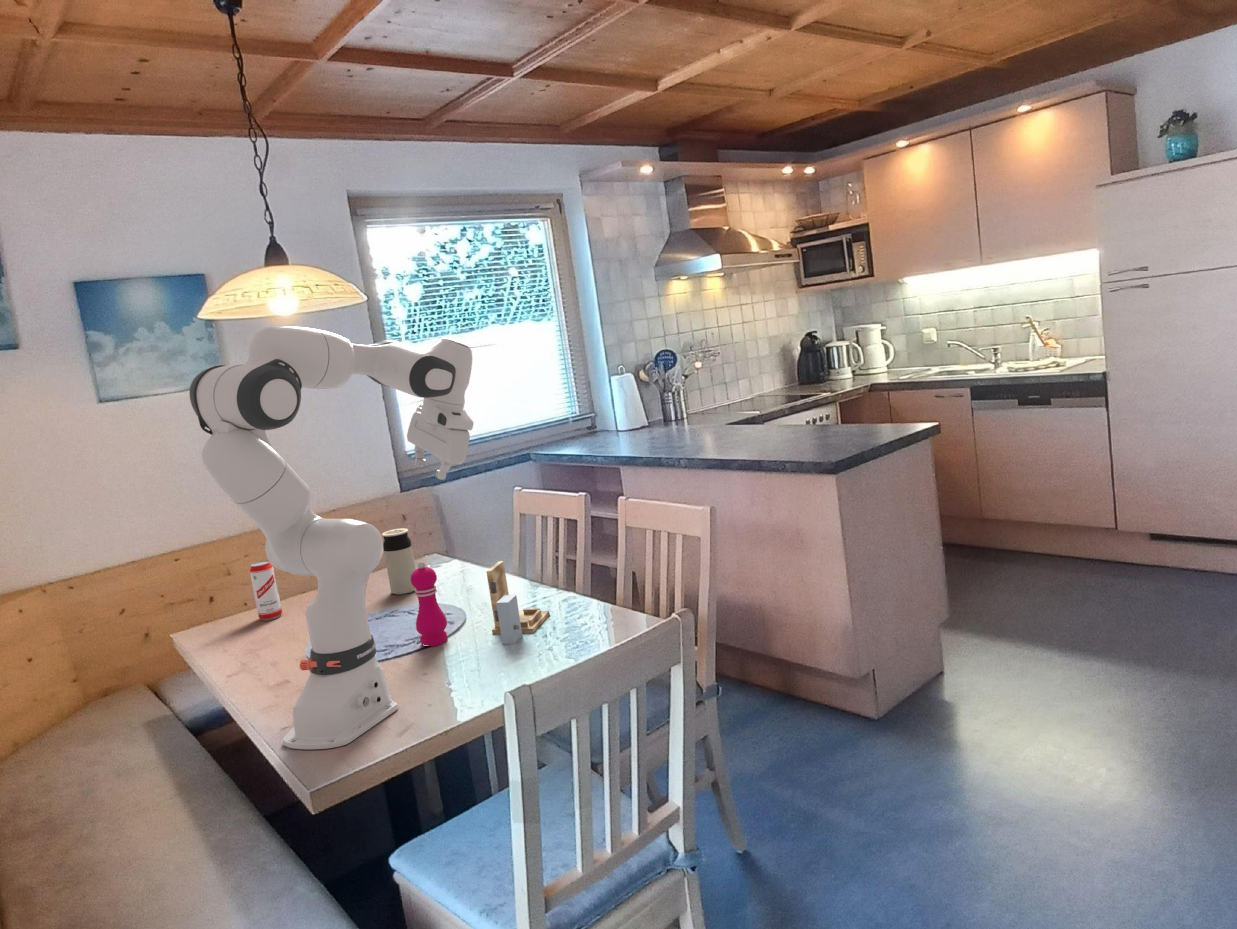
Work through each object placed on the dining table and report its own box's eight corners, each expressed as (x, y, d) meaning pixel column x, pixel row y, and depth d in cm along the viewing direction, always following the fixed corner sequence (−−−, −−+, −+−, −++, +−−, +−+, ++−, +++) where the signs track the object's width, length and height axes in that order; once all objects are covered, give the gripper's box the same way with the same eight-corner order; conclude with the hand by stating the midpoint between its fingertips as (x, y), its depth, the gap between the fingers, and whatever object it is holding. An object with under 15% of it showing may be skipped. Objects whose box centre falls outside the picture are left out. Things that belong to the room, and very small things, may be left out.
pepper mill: (442, 647, 194) (428, 564, 190) (414, 648, 195) (399, 567, 192) (454, 635, 200) (441, 555, 197) (426, 636, 202) (413, 557, 199)
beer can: (284, 616, 234) (274, 562, 231) (261, 623, 231) (250, 567, 228) (280, 612, 239) (270, 558, 237) (257, 618, 236) (246, 564, 233)
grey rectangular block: (518, 643, 190) (512, 602, 188) (502, 644, 191) (496, 602, 189) (526, 635, 194) (520, 594, 193) (510, 635, 195) (504, 595, 194)
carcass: (533, 632, 195) (524, 571, 193) (492, 634, 198) (483, 573, 196) (549, 614, 207) (541, 556, 205) (510, 616, 210) (502, 558, 207)
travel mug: (414, 593, 240) (404, 533, 238) (387, 596, 241) (377, 536, 238) (422, 585, 248) (412, 526, 245) (396, 587, 249) (385, 529, 246)
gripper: (406, 400, 189) (395, 458, 191) (453, 422, 174) (439, 485, 176) (431, 403, 193) (419, 460, 195) (478, 425, 179) (465, 486, 181)
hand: (429, 472), depth 186 cm, fingers open, 8 cm apart
